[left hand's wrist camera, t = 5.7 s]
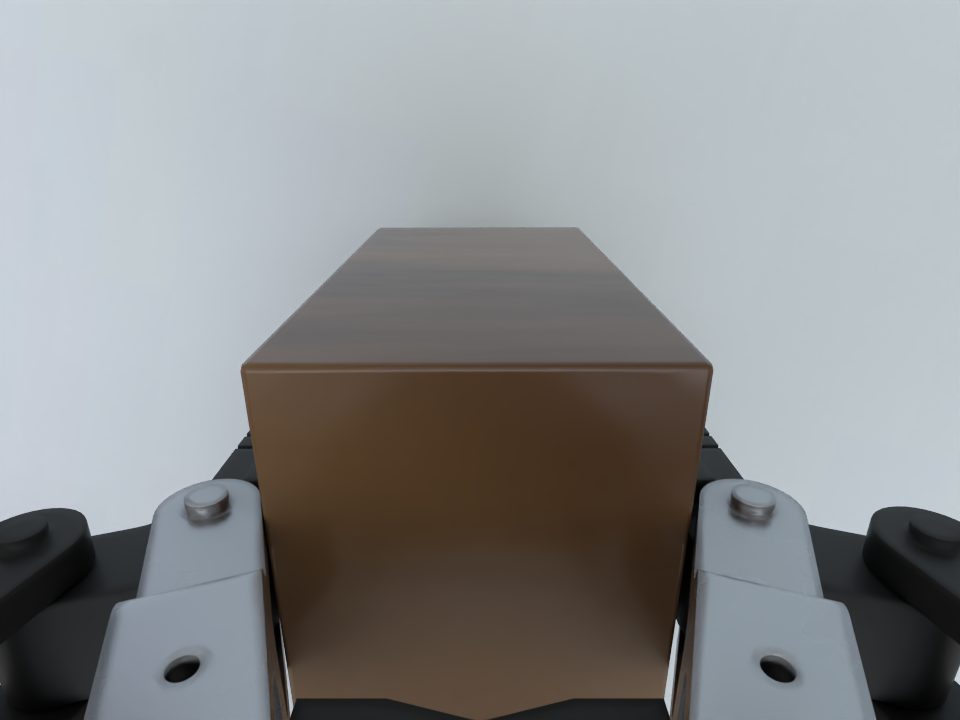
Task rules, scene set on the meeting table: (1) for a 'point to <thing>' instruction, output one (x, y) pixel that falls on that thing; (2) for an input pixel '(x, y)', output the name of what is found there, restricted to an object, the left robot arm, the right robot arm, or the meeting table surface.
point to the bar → (477, 473)
